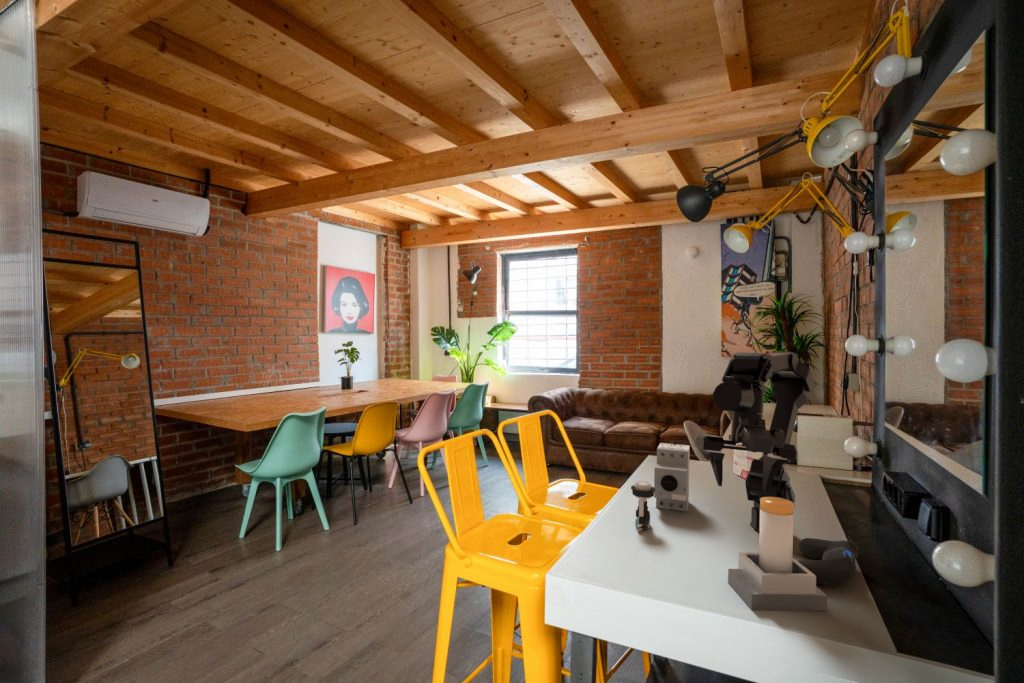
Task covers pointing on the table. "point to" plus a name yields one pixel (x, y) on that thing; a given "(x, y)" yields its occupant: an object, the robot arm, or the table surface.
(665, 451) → the circuit breaker
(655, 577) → the table surface
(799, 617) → the table surface
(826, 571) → the gaming controller
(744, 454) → the ink cartridge box
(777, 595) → the grey stepped open box
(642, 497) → the push button
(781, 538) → the orange lidded white canister
